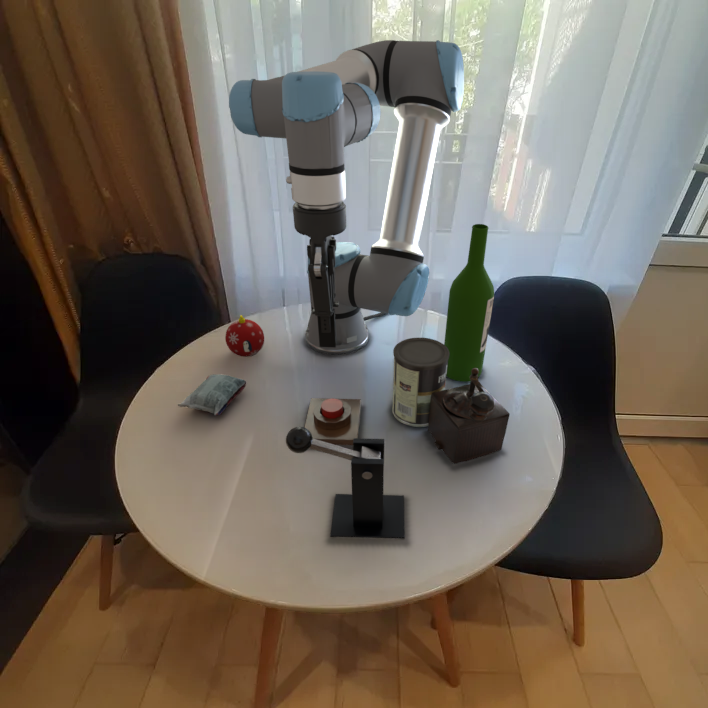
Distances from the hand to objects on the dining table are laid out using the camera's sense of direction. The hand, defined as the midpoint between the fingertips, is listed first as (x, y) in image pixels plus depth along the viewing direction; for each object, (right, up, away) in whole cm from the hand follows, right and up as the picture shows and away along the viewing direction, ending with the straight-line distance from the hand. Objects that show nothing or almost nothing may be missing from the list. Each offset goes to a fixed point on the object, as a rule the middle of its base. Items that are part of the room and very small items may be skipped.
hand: (328, 344), depth 82 cm
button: (0, -12, +9) cm, 15 cm away
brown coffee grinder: (+25, -19, +6) cm, 32 cm away
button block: (0, -15, +11) cm, 18 cm away
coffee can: (+16, -12, +15) cm, 25 cm away
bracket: (+7, -28, -7) cm, 29 cm away
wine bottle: (+27, -4, +27) cm, 38 cm away
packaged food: (-25, -10, +17) cm, 32 cm away
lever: (+2, -17, -14) cm, 22 cm away
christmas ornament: (-22, 0, +31) cm, 39 cm away
